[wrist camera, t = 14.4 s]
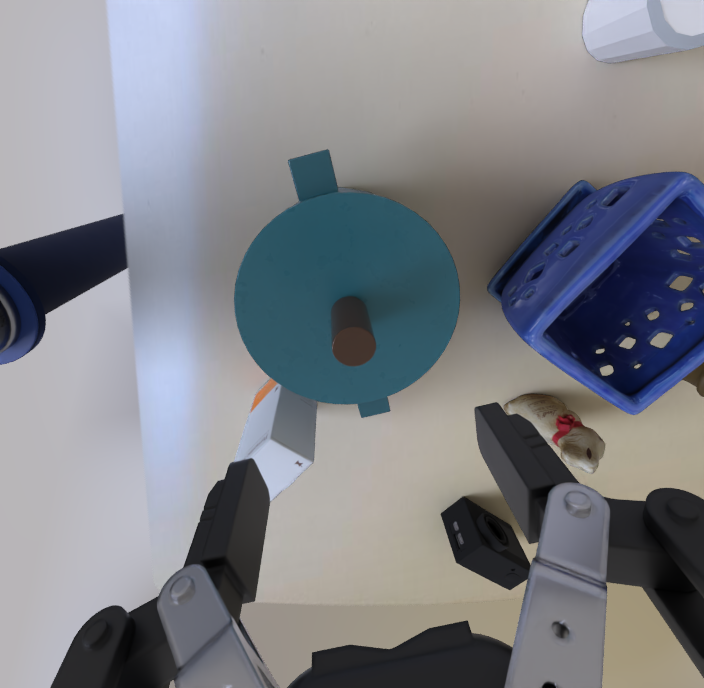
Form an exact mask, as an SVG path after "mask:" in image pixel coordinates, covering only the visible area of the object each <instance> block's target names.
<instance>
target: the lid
mask: <svg viewBox="0 0 704 688" xmlns="http://www.w3.org/2000/svg"><path fill="white" fill-rule="evenodd" d="M234 305H235V316H236V321H237V326H238V329H239V332H240V335H241V337H242V340H243V342H244V344H245V346H246V348H247V350H248V352H249V353H250V355H251V356H252V357H253V359H254V360H255V362H256V363H257V364H258V365H259V366H260V368H261V369H262V370H263V371H264V372H265V373H266V374H267V375H268V376H270V377H271V378H272V379H273V380H274V381H276V382H277V383H278V384H280V385H281V386H283V387H284V388H286V389H288V390H290V391H292V392H294V393H296V394H298V395H300V396H303V397H306V398H308V399H312V400H316V401H320V402H325V403H332V404H358V403H365V402H370V401H375V400H378V399H381V398H385V397H387V396H390V395H392V394H395V393H397V392H399V391H401V390H402V389H404V388H406V387H408V386H409V385H411V384H412V383H414V382H415V381H417V380H418V379H419V378H420V377H421V376H423V375H424V374H425V373H426V372H427V371H428V370H429V369H430V368H431V367H432V366H433V365H434V364H435V363H436V361H437V360H438V359H439V357H440V356H441V354H442V353H443V352H444V350H445V348H446V346H447V345H448V343H449V341H450V339H451V337H452V334H453V331H454V329H455V326H456V322H457V318H458V314H459V305H460V286H459V280H458V274H457V270H456V267H455V264H454V261H453V258H452V256H451V254H450V252H449V250H448V248H447V246H446V244H445V243H444V242H443V240H442V239H441V237H440V236H439V234H438V233H437V232H436V231H435V230H434V229H433V228H432V227H431V225H430V224H429V223H428V222H427V221H425V220H424V219H423V218H422V217H420V216H419V215H418V214H417V213H415V212H414V211H412V210H411V209H409V208H407V207H405V206H404V205H402V204H400V203H398V202H396V201H393V200H391V199H388V198H386V197H382V196H378V195H374V194H370V193H362V192H334V193H329V194H324V195H318V196H316V197H313V198H310V199H307V200H304V201H301V202H300V203H298V204H296V205H294V206H292V207H290V208H288V209H286V210H285V211H284V212H282V213H281V214H279V215H278V216H277V217H275V218H274V219H273V220H272V221H271V222H270V223H269V224H268V225H267V226H265V227H264V228H263V229H262V231H261V232H260V233H259V234H258V236H257V237H256V238H255V239H254V241H253V242H252V244H251V245H250V247H249V249H248V251H247V252H246V254H245V256H244V258H243V261H242V263H241V266H240V268H239V271H238V275H237V280H236V284H235V295H234Z"/></svg>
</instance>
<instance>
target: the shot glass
mask: <svg viewBox="0 0 704 688" xmlns="http://www.w3.org/2000/svg"><path fill="white" fill-rule="evenodd" d="M582 36H583V39H584V42H585V45H586V48H587V51H588V52H589V53H590V54H591V55H592V56H593V57H594V58H595V59H596V60H597V61H602V62H606V63H615V62H621V61H627V60H633V59H639V58H645V57H651V56H657V55H662V54H668V53H674V52H680V51H686V50H690V49H693V48H697V47H700V46H704V0H588V3H587V6H586V9H585V12H584V15H583V32H582Z"/></svg>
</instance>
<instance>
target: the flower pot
mask: <svg viewBox="0 0 704 688" xmlns="http://www.w3.org/2000/svg"><path fill="white" fill-rule="evenodd" d="M656 218H657V219H663V220H664V221H662V220H657V219H656ZM686 236H687V237H694V238H696V239H698V240H699V241H700V242H691V241H690V240H689V239H688V238H687V237H686ZM677 250H681V251H684V252H686V253H689V254H690V255H688V254H683V253H679V252H678V251H677ZM678 276H687V277H691V278H693V280H692V282H691V284H690V285H689V286H688V287H687V288H686V289H685V290H683V291H679V290H676V289H673V288H670V287H669V286H670V285H671V284H672V282H673V281H674V280H675V279H676V278H677V277H678ZM703 289H704V184H703V183H702V182H701V181H700V180H699V179H698V178H696V177H695V176H693V175H692V174H689V173H686V172H663V173H654V174H648V175H642V176H637V177H632V178H628V179H625V180H621V181H618V182H615V183H613V184H610V185H608V186H605V187H603V188H601V189H599V190H596V189H595V188H594V187H593V186H592V185H591V184H590V183H588V182H587V181H584V180H581V181H579V182H577V183H576V184H575V185H574V186H573V187H572V188H571V189H570V190H569V191H568V192H567V193H566V194H565V195H564V196H563V198H562V199H561V200H560V201H559V202H558V203H557V204H556V206H555V207H554V208H553V209H552V210H551V211H550V212H549V214H548V215H547V216H546V217H545V218H544V219H543V220H542V221H541V223H540V224H539V225H538V226H537V227H536V228H535V229H534V231H533V232H532V233H531V234H530V235H529V236H528V237H527V238H526V240H525V241H524V242H523V243H522V244H521V245H520V247H519V248H518V249H517V250H516V251H515V252H514V254H513V255H512V256H511V257H510V258H509V260H508V261H507V262H506V263H505V264H504V265H503V267H502V268H501V269H500V270H499V271H498V273H497V274H496V275H495V276H494V277H493V279H492V280H491V281H490V283H489V284H488V286H487V290H488V292H489V293H490V294H491V295H492V296H493V297H495V298H496V299H497V300H498V301H500V302H501V304H502V309H503V312H504V315H505V317H506V319H507V320H508V322H509V323H510V325H511V326H512V328H513V329H514V330H515V332H516V333H517V334H518V335H519V336H520V337H521V338H522V339H523V340H524V341H525V342H526V343H527V344H528V345H529V346H531V347H532V348H533V349H534V350H535V351H537V352H538V353H539V354H540V355H542V356H543V357H544V358H546V359H547V360H548V361H550V362H551V363H552V364H554V365H555V366H557V367H558V368H559V369H561V370H562V371H564V372H565V373H566V374H568V375H569V376H571V377H572V378H574V379H575V380H577V381H578V382H580V383H581V384H583V385H584V386H586V387H588V388H589V389H590V390H592V391H593V392H595V393H596V394H598V395H599V396H601V397H602V398H604V399H605V400H607V401H608V402H610V403H612V404H613V405H615V406H616V407H618V408H620V409H621V410H623V411H625V412H627V413H629V414H632V415H635V414H638V413H640V412H641V411H643V410H644V409H645V408H647V407H648V406H649V405H650V404H652V403H653V402H654V401H655V400H657V399H658V398H659V397H660V396H662V395H663V394H664V393H665V392H667V391H668V390H669V389H671V388H672V387H673V386H675V385H676V384H677V383H678V382H680V381H681V380H682V379H683V378H684V377H686V376H687V375H688V374H689V373H691V372H692V371H693V370H695V369H696V368H697V367H698V366H700V365H701V364H702V363H703V362H704V293H703V291H702V290H703ZM683 303H693V307H692V308H691V309H689V310H685V311H681V305H682V304H683ZM654 311H658V312H659V317H658V318H656V319H654V320H649V319H648V317H647V315H648V314H650V313H651V312H654ZM691 321H693V322H691ZM627 322H630V325H629V326H626V325H625V324H626V323H627ZM661 332H663V333H668V334H671V335H673V337H672V338H671V339H670V341H669V342H668V343H667V345H666V346H665V347H664V348H658V347H655V346H653V345H651V344H650V342H651V340H652V339H653V338H654V337H655V336H656V335H657V334H658V333H661ZM626 337H630V338H633V339H636V343H635V344H634V345H633V347H632V348H631V349H626V348H623V347H620V346H619V345H620V343H621V342H622V341H623V340H624V339H625V338H626ZM598 349H605V351H604V352H603V353H601V354H596V350H598ZM637 364H641V366H640V367H639V368H637V369H636V368H634V366H635V365H637ZM607 365H611V366H612V367H613V369H614V372H613V373H612V374H610V375H608V376H602V374H601V372H600V368H601V367H604V366H607Z"/></svg>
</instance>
